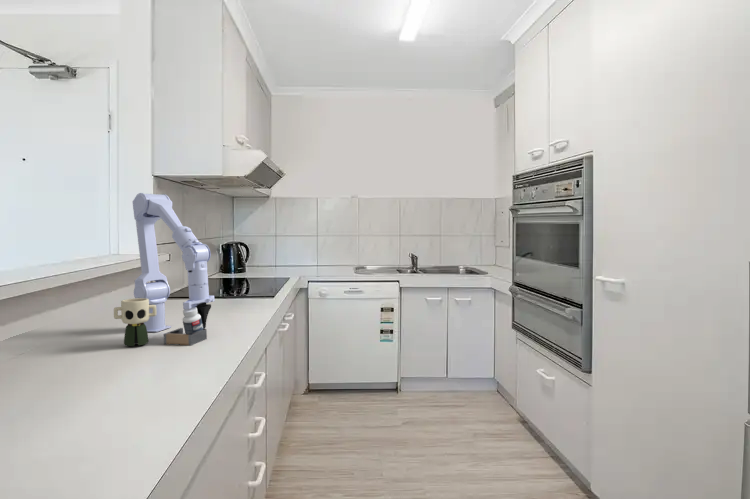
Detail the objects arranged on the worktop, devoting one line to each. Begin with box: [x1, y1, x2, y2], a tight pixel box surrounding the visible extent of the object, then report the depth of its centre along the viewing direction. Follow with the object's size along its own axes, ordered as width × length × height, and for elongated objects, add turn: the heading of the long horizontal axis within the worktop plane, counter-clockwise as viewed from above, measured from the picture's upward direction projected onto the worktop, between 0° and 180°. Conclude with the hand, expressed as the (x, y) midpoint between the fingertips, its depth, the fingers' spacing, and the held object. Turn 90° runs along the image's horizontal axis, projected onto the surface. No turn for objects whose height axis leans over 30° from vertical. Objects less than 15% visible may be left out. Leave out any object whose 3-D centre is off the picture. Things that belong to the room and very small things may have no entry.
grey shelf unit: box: [163, 327, 208, 346], centre depth 146 cm, size 9×8×3 cm
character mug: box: [113, 297, 157, 347], centre depth 141 cm, size 11×7×13 cm, turn 114°
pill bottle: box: [182, 307, 204, 334], centre depth 149 cm, size 5×5×9 cm
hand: (201, 328), depth 152 cm, fingers closed, pressing on pill bottle
